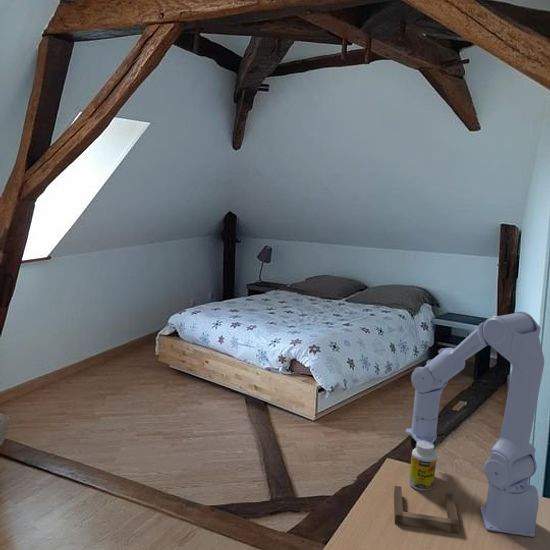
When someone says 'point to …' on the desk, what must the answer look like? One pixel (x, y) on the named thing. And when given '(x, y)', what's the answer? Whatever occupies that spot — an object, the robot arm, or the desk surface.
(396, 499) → the wooden u-shaped block
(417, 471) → the supplement bottle
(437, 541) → the desk surface
